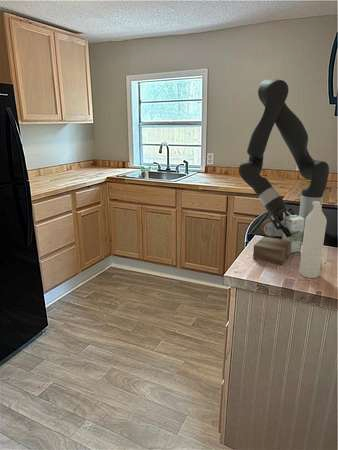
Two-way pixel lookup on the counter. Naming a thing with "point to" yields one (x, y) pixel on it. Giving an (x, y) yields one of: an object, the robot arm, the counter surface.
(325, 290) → the counter surface
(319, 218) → the water bottle
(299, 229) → the syrup box
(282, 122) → the robot arm
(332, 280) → the counter surface
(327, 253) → the counter surface
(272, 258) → the walnut block
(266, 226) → the tin
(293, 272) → the counter surface
